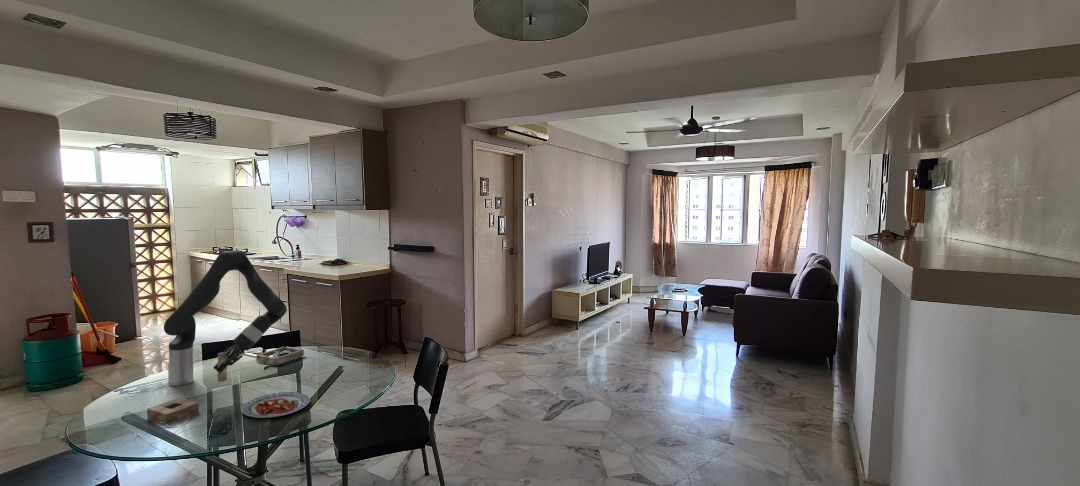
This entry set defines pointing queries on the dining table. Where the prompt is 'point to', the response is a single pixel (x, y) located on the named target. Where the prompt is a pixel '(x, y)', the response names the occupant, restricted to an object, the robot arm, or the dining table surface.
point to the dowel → (221, 359)
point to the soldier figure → (276, 354)
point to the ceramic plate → (275, 404)
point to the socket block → (172, 410)
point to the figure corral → (275, 361)
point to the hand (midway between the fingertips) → (216, 370)
